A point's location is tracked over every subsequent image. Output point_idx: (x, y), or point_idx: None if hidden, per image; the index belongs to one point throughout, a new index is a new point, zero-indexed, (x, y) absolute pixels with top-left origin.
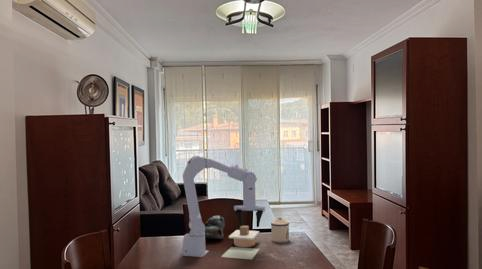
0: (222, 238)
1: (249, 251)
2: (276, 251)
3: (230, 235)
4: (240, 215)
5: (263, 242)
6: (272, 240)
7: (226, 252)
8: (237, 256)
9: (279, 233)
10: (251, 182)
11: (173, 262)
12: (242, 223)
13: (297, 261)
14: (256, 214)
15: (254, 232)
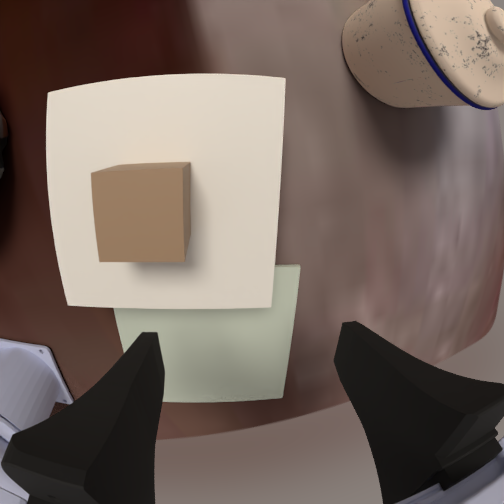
0: (3, 134)
1: (246, 321)
2: (387, 266)
3: (65, 278)
4: (149, 500)
5: (295, 103)
6: (353, 74)
7: None
8: (207, 388)
9: (435, 105)
10: None
11: None
12: (159, 381)
13: (438, 345)
14: (386, 493)
15: (244, 131)
